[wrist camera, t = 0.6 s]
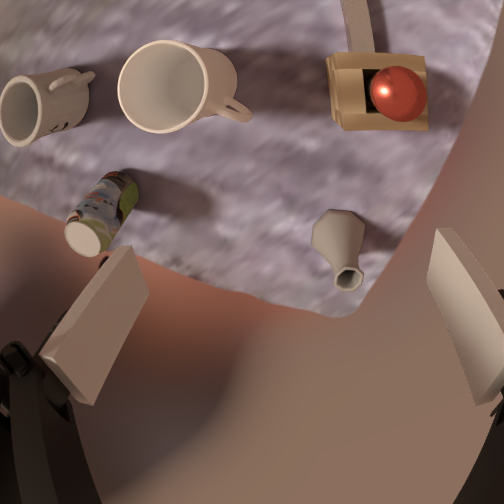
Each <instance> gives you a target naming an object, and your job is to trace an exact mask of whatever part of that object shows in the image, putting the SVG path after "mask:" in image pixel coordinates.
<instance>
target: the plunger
mask: <svg viewBox="0 0 504 504" xmlns="http://www.w3.org/2000/svg"><path fill="white" fill-rule="evenodd" d="M364 92H365V98H366V100H367V101H369V102H370V103H372V104H374V106H375V107H376V109H377V110H378V111H379V112H380V113H381V114H382V115H384V116H385V117H387V118H389V119H391V120H394V121H397V122H409V121H412V120H414V119H416V118H417V117H418V116H419V115H420V114H421V113H422V112H423V110H424V108H425V106H426V101H427V93H426V88H425V86H424V84H423V82H422V80H421V79H420V77H419V76H418V75H417V74H416V73H415V72H413V71H412V70H410V69H408V68H406V67H402V66H390V67H386V68H383V69H381V70H380V71H378V72H377V73H376V75H371V76H369V77H367V78H366V79H365V80H364Z"/></svg>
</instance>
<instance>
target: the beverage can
mask: <svg viewBox="0 0 504 504" xmlns="http://www.w3.org/2000/svg"><path fill="white" fill-rule="evenodd" d="M138 198H139V191H138V188H137V185H136V184H135V182H134V181H133V179H132V178H130V177H129V176H128V175H126V174H124V173H122V172H117V171H114V172H109V173H107V174H106V175H105V176H104V177H103V178H102V179H101V180H100V181H99V182H98V183H97V184H96V185H95V186H94V187H93V188H92V189H91V191H90V192H89V193H88V194H87V195H86V196H85V197H84V198H83V200H82V201H81V202H80V203H79V204H78V205H77V206H76V208H75V209H74V210H73V211H72V212H71V214H70V215H69V216H68V218H67V221H66V228H65V238H66V240H67V242H68V244H69V245H70V247H71V248H72V249H73V250H74V251H76V252H77V253H79V254H81V255H83V256H87V257H93V256H96V255H97V254H98V253H101V252H103V251H105V250H106V249H107V248H108V246H109V245H110V243H111V242H112V240H113V238H114V237H115V235H116V234H117V232H118V230H119V229H120V227H121V226H122V224H123V223H124V221H125V220H126V218H127V217H128V215H129V213H130V212H131V210H132V209H133V207H134V206H135V205H136V203H137V201H138Z"/></svg>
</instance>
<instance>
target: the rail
mask: <svg viewBox="0 0 504 504" xmlns="http://www.w3.org/2000/svg"><path fill="white" fill-rule="evenodd" d="M340 2H341V7H342V12H343V18H344V24H345V30H346V36H347V43H348V49H349V52H369V53H375V48H374V41H373V34H372V28H371V22H370V16H369V10H368V5H367V0H340Z"/></svg>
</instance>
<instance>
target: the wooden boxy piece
mask: <svg viewBox="0 0 504 504" xmlns="http://www.w3.org/2000/svg"><path fill="white" fill-rule="evenodd" d="M325 63H326V70H327V78H328V86H329V95H330V104H331V114H332V119H333V120H334V121H335V122H336V123H338V124H339V125H340V126H341V127H342V128H343V129H344V130H345V131H356V130H417V131H429V130H428V96H427V101H426V106H425V108H424V110H423V112H422V113H421V114H420V115H419V116H418V117H417V118H416V119H414V120H412V121H409V122H397V121H394V120H391V119H389V118H387V117H385V116H384V115H382V114H381V113H380V112H379V111H378V110H377V109H376V107H375V106H374V104H372V103H370V102H369V101H367V100H366V98H365V92H364V80H365V79H366V78H367V77H369V76H371V75H376V73H377V72H378V71H380V70H381V69H383V68H386V67H390V66H402V67H406V68H408V69H410V70H412V71H413V72H415V73H416V74H417V75H418V76H419V77H420V79H421V80H422V82H423V84H424V86H425V88H426V93H427V80H426V68H425V59H424V56H417V55H406V54H392V53H369V52H337V53H335V54H333V55H331V56H330V57H328V58H326V59H325Z"/></svg>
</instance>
